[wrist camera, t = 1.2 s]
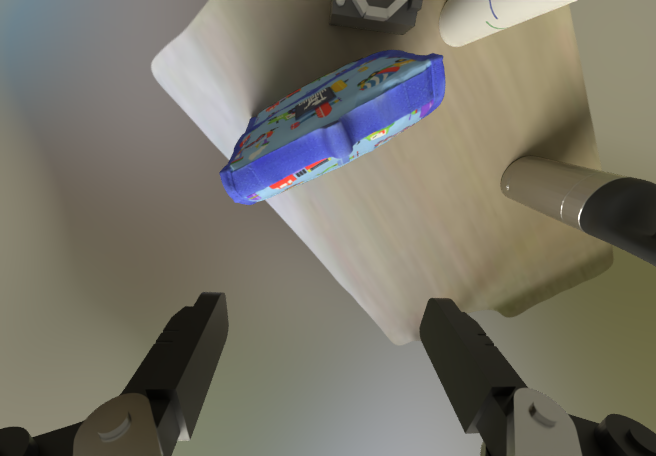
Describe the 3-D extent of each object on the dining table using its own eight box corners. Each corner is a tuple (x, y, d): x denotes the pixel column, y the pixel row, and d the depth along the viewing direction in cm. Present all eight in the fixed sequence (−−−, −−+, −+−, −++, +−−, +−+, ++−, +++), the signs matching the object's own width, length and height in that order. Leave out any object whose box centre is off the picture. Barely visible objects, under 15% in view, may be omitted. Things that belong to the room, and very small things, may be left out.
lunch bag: (362, 56, 42) (450, -25, 16) (388, 135, 47) (484, 169, 22) (248, 117, 44) (165, 132, 19) (286, 184, 50) (263, 268, 24)
